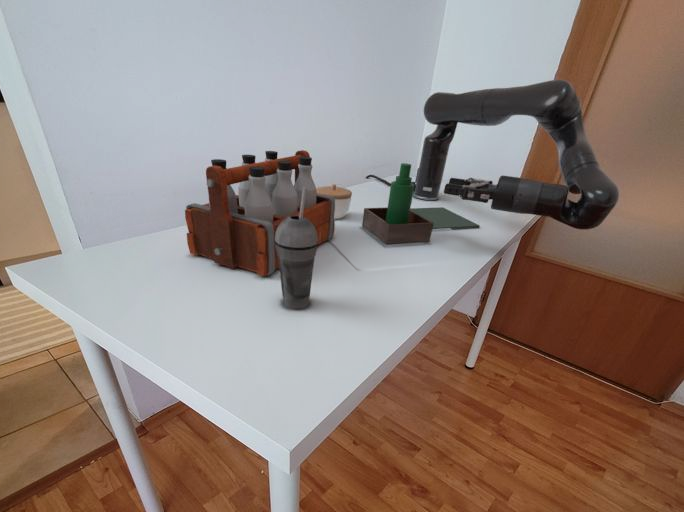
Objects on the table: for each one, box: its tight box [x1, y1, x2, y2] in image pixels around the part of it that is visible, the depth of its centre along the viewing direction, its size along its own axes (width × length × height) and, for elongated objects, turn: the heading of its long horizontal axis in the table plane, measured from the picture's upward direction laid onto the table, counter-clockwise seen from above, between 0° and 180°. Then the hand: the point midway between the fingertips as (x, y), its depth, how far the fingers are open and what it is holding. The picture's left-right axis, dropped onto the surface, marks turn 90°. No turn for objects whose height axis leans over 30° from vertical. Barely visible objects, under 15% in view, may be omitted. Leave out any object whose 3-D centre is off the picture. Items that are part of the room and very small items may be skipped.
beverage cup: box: [274, 187, 319, 310], centre depth 61 cm, size 7×7×20 cm
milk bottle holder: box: [184, 150, 336, 277], centre depth 83 cm, size 21×35×19 cm, turn 152°
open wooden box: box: [361, 206, 434, 246], centre depth 100 cm, size 15×13×6 cm
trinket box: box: [316, 184, 353, 220], centre depth 108 cm, size 11×11×9 cm
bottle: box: [385, 162, 415, 225], centre depth 96 cm, size 6×6×18 cm
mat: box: [410, 206, 480, 230], centre depth 117 cm, size 20×18×1 cm
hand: (446, 185), depth 90 cm, fingers open, 8 cm apart
